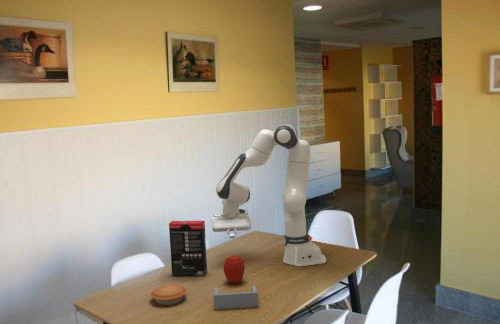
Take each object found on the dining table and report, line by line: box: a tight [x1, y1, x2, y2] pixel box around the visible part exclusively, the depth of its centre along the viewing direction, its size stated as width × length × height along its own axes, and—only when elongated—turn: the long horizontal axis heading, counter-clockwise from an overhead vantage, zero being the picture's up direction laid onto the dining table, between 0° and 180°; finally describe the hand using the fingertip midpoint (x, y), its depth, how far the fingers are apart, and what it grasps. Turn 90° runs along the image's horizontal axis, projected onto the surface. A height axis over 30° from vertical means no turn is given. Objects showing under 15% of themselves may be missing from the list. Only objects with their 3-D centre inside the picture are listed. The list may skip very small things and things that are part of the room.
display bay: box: [213, 285, 259, 311], centre depth 198 cm, size 18×16×6 cm
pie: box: [150, 283, 188, 306], centre depth 202 cm, size 15×16×5 cm
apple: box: [222, 253, 246, 284], centre depth 218 cm, size 10×10×14 cm
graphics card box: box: [168, 220, 208, 277], centre depth 230 cm, size 17×7×27 cm, turn 84°
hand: (232, 237), depth 237 cm, fingers closed
